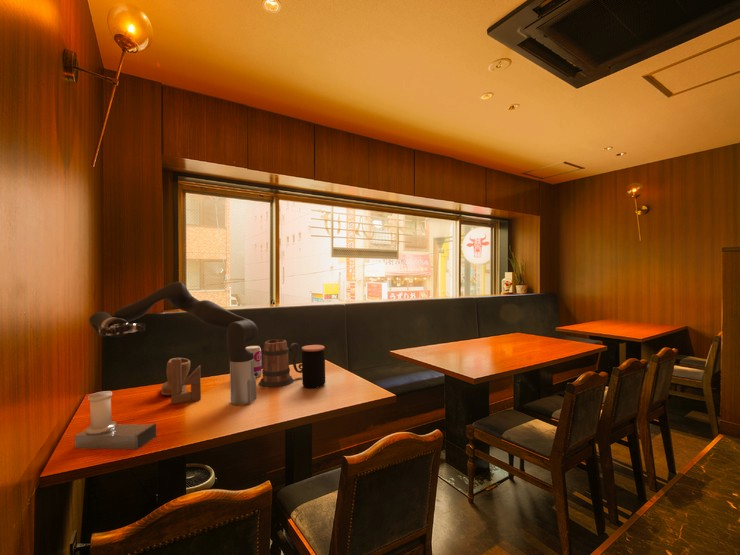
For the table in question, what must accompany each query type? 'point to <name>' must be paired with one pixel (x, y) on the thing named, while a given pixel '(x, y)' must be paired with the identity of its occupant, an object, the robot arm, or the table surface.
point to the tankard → (278, 364)
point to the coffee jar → (313, 366)
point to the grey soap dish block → (116, 436)
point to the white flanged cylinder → (100, 409)
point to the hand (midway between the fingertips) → (129, 330)
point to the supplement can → (256, 359)
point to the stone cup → (168, 385)
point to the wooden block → (177, 384)
